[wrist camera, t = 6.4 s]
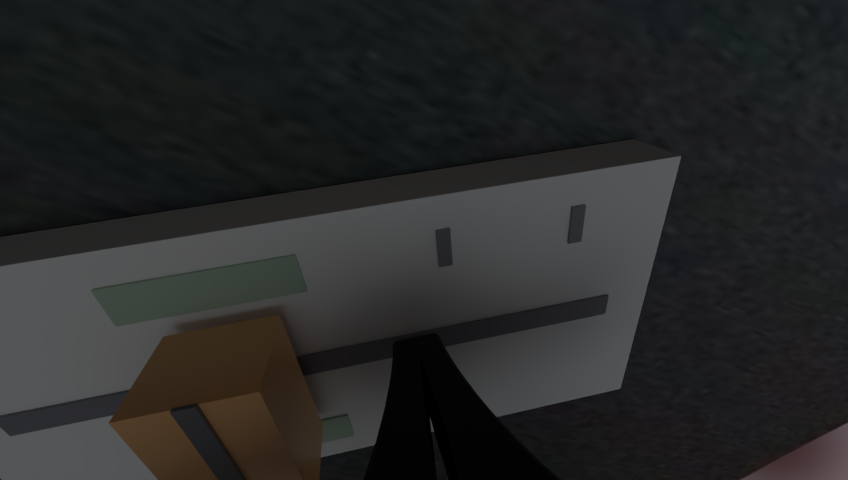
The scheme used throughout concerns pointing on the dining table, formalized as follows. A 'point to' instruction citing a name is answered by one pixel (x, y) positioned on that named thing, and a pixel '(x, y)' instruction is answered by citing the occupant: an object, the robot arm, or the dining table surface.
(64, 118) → the dining table surface
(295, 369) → the fader knob
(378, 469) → the robot arm
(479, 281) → the fader console
